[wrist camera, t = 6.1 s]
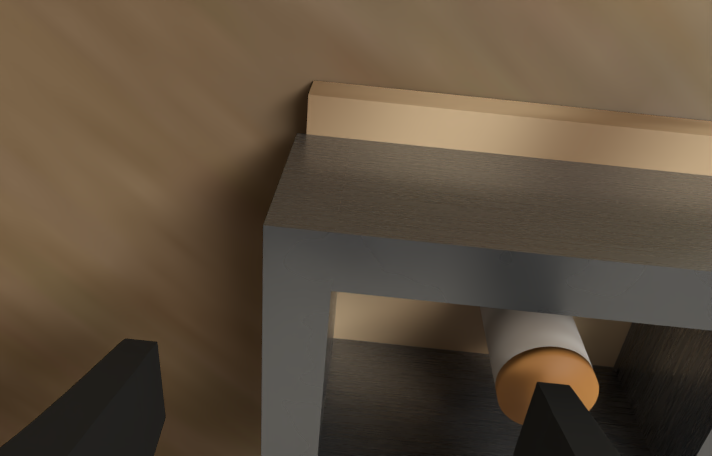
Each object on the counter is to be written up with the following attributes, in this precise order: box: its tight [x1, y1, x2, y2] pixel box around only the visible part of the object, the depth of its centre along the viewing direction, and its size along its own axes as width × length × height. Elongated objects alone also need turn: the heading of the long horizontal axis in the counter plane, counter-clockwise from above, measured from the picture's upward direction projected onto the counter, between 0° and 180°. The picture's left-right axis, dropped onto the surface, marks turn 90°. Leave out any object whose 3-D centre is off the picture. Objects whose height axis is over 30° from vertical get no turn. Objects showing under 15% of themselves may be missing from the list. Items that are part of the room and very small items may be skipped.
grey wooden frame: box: [261, 133, 712, 456], centre depth 13 cm, size 10×7×4 cm
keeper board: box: [306, 80, 712, 425], centre depth 14 cm, size 11×9×4 cm
